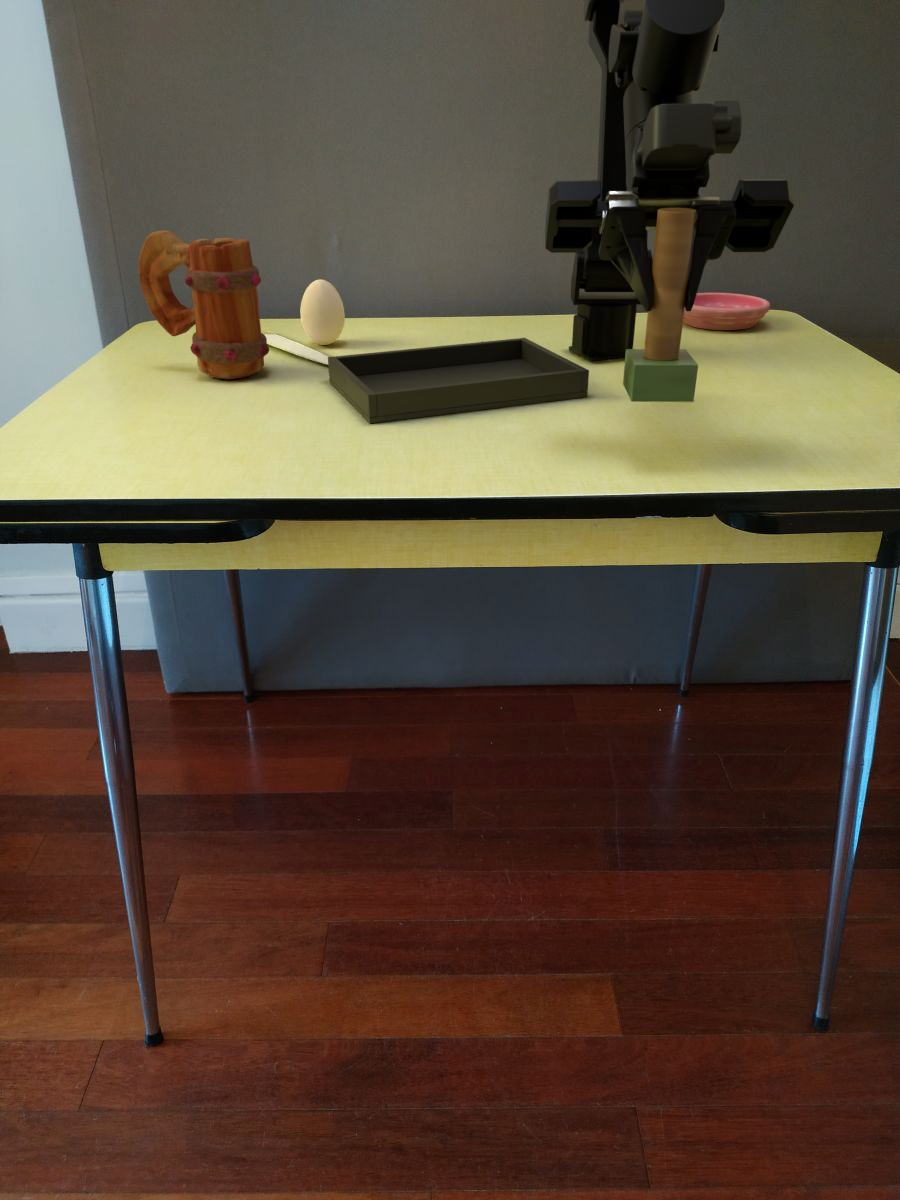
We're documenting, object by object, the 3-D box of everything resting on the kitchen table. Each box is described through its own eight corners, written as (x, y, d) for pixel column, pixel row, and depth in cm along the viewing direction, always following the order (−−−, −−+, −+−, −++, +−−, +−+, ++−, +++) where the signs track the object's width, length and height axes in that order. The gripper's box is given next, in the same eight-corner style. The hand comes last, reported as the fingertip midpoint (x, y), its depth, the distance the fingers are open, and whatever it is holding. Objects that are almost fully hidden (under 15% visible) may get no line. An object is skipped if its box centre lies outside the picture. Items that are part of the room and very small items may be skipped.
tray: (524, 361, 107) (524, 337, 106) (587, 396, 95) (589, 370, 93) (329, 382, 100) (327, 356, 99) (369, 423, 87) (368, 395, 86)
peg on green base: (622, 384, 77) (638, 206, 71) (681, 384, 77) (703, 206, 70) (631, 401, 73) (648, 213, 66) (693, 402, 73) (717, 213, 66)
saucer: (669, 313, 130) (671, 290, 129) (758, 315, 129) (762, 292, 127) (676, 332, 120) (678, 308, 118) (773, 335, 118) (777, 310, 117)
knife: (362, 373, 107) (327, 374, 104) (227, 321, 129) (195, 320, 126) (363, 362, 106) (328, 363, 103) (227, 311, 129) (195, 311, 126)
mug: (287, 368, 105) (274, 229, 98) (252, 387, 99) (235, 239, 91) (179, 358, 110) (159, 224, 102) (138, 376, 103) (113, 234, 96)
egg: (351, 340, 117) (347, 276, 113) (339, 350, 113) (335, 284, 109) (310, 339, 118) (305, 275, 114) (297, 349, 113) (291, 283, 110)
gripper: (554, 60, 67) (557, 241, 63) (809, 58, 67) (830, 240, 62) (543, 170, 78) (545, 330, 74) (763, 169, 77) (778, 330, 73)
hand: (669, 308), depth 70 cm, fingers closed on peg on green base, 3 cm apart
